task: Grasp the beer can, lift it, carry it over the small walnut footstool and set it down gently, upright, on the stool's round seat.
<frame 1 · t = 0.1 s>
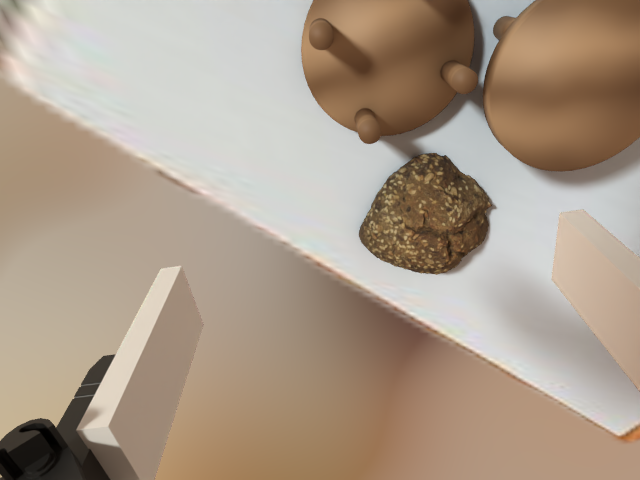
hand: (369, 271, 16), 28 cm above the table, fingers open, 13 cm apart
upturned footstool: (384, 48, 38), on the table
footstool: (548, 70, 39), on the table
bread roll: (426, 216, 47), on the table
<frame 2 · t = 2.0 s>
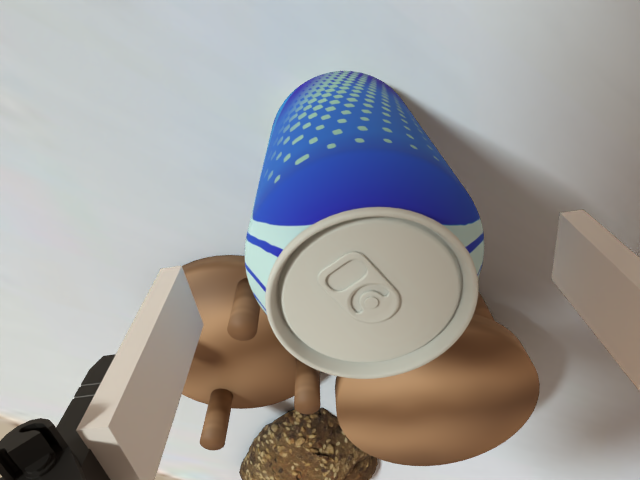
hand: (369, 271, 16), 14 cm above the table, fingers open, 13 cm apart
upturned footstool: (238, 330, 35), on the table
beer can: (340, 137, 28), on the table
footstool: (418, 344, 37), on the table
bread roll: (312, 449, 44), on the table
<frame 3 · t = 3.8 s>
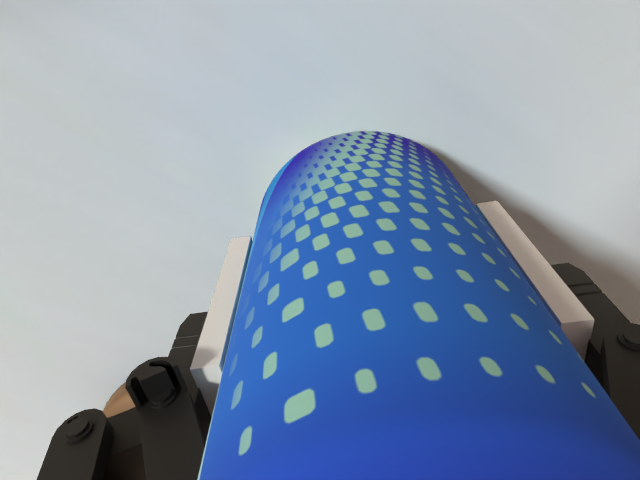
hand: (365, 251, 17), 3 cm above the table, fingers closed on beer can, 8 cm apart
upturned footstool: (220, 443, 27), on the table
beer can: (358, 214, 20), on the table, touching gripper
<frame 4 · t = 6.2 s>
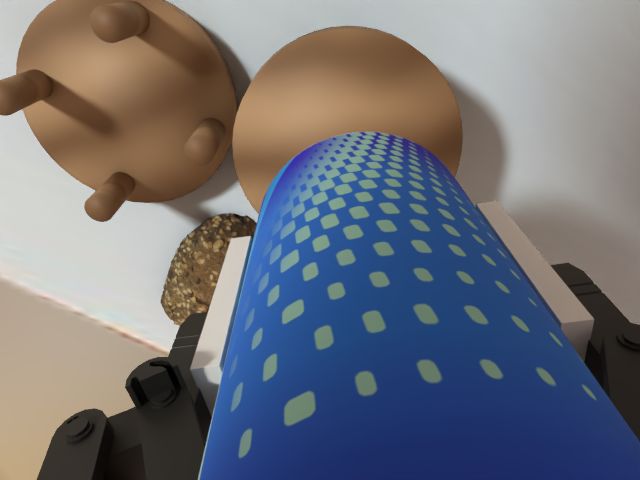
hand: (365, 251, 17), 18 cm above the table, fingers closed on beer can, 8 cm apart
upturned footstool: (136, 101, 32), on the table
beer can: (358, 215, 20), point 15 cm above the table, touching gripper
footstool: (341, 126, 33), on the table
bread roll: (243, 280, 40), on the table
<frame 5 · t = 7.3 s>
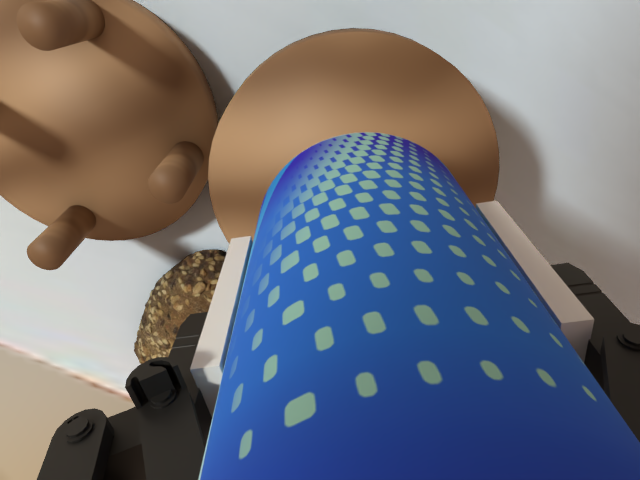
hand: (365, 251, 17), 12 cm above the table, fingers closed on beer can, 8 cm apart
upturned footstool: (96, 120, 26), on the table
beer can: (358, 215, 20), point 9 cm above the table, touching gripper
footstool: (345, 149, 27), on the table
bread roll: (231, 323, 35), on the table
when the fingers open (10 cm above the table, at t = 8.4 s): beer can drops 1 cm, resting on footstool.
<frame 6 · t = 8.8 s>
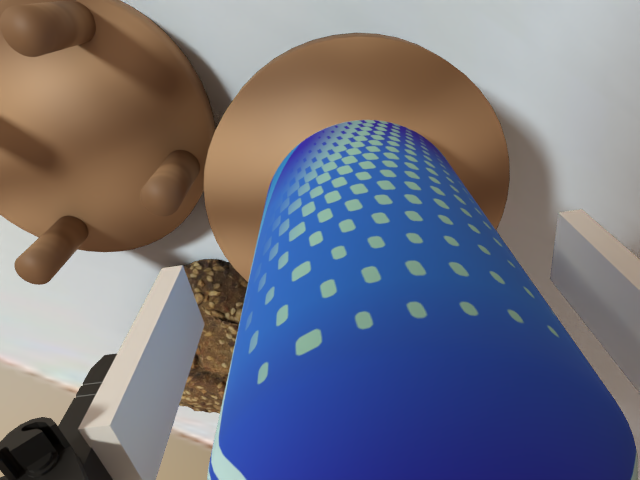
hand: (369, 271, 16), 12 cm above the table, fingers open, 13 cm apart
upturned footstool: (88, 127, 25), on the table
beer can: (358, 200, 21), point 6 cm above the table, touching footstool
footstool: (347, 157, 26), on the table
bread roll: (230, 334, 33), on the table
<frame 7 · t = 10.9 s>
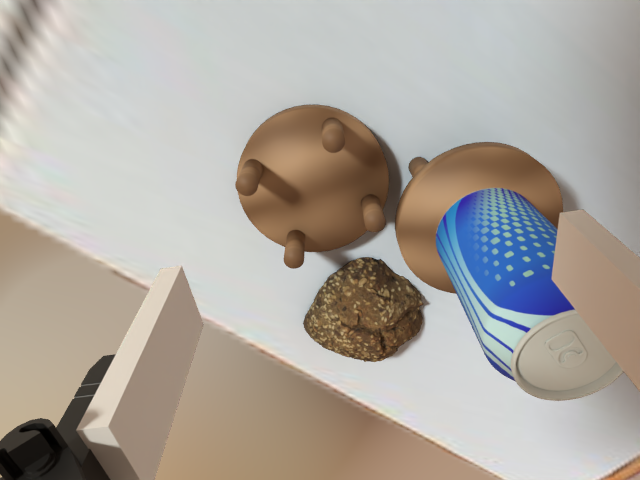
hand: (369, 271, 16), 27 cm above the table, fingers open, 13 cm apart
upturned footstool: (313, 179, 43), on the table
beer can: (480, 226, 39), point 6 cm above the table, touching footstool
footstool: (460, 199, 44), on the table
bread roll: (366, 308, 51), on the table
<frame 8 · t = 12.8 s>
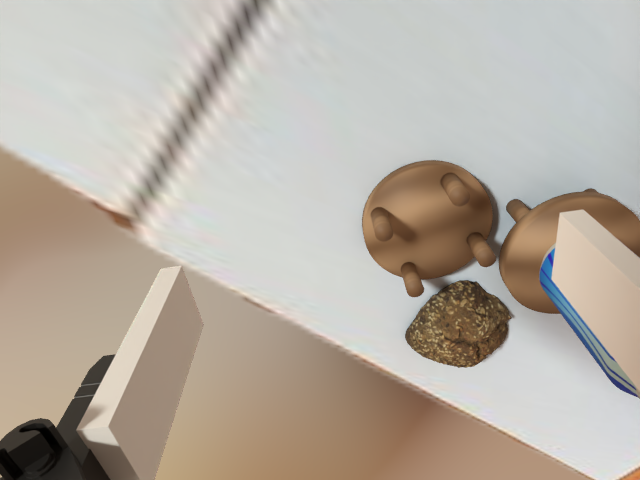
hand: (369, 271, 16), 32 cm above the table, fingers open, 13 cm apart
upturned footstool: (424, 219, 51), on the table
beer can: (574, 259, 47), point 6 cm above the table, touching footstool
footstool: (547, 232, 52), on the table
bread roll: (458, 321, 59), on the table
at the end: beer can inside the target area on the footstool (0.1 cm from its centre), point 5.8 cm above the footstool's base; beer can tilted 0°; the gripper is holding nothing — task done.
